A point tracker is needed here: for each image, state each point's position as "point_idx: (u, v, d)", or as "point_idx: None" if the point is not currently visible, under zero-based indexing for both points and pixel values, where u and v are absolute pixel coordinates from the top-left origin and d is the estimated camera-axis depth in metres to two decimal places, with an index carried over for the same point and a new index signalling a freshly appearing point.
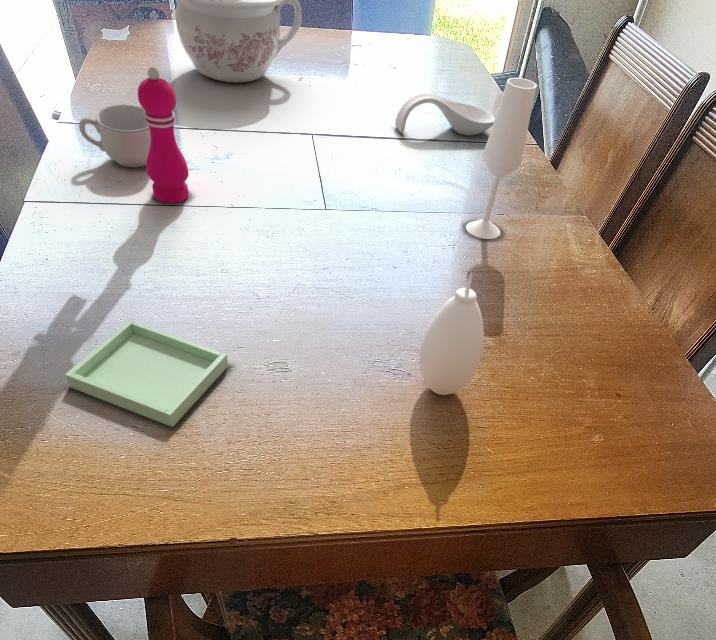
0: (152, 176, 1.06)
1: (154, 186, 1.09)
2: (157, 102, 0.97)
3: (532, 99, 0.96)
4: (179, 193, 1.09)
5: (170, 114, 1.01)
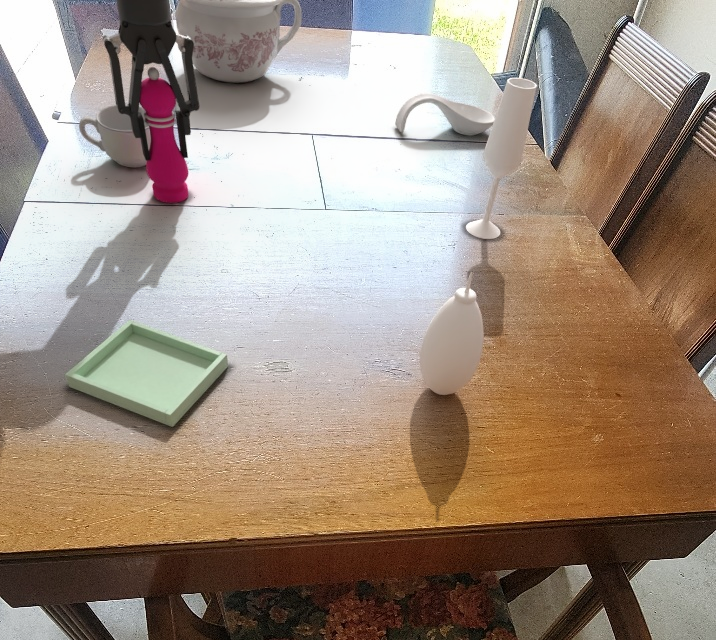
0: (152, 176, 1.06)
1: (154, 186, 1.09)
2: (157, 102, 0.97)
3: (532, 99, 0.96)
4: (179, 193, 1.09)
5: (170, 114, 1.01)
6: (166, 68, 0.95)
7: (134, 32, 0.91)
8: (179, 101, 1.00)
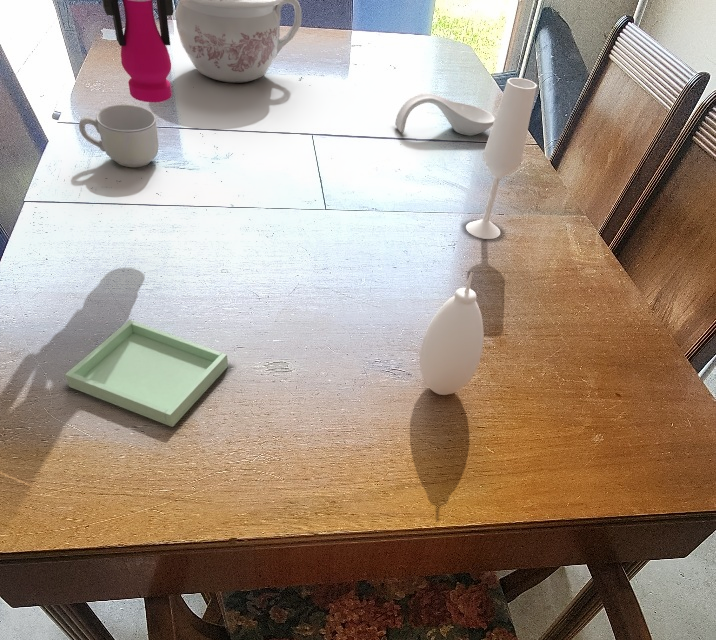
0: (128, 67, 0.89)
1: (131, 82, 0.92)
2: None
3: (532, 99, 0.96)
4: (160, 90, 0.92)
5: None
6: None
7: None
8: None
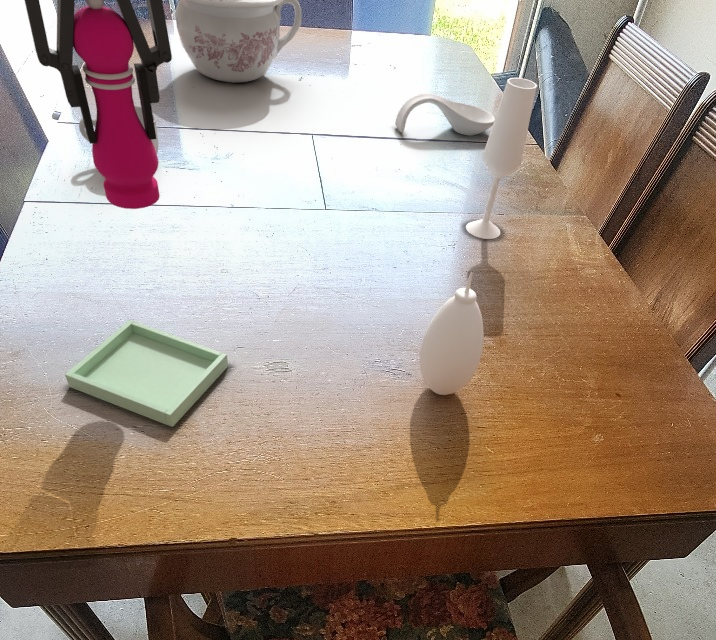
0: (102, 169, 0.69)
1: (106, 184, 0.72)
2: (102, 46, 0.60)
3: (532, 99, 0.96)
4: (145, 194, 0.72)
5: (125, 68, 0.63)
6: None
7: None
8: (139, 46, 0.62)
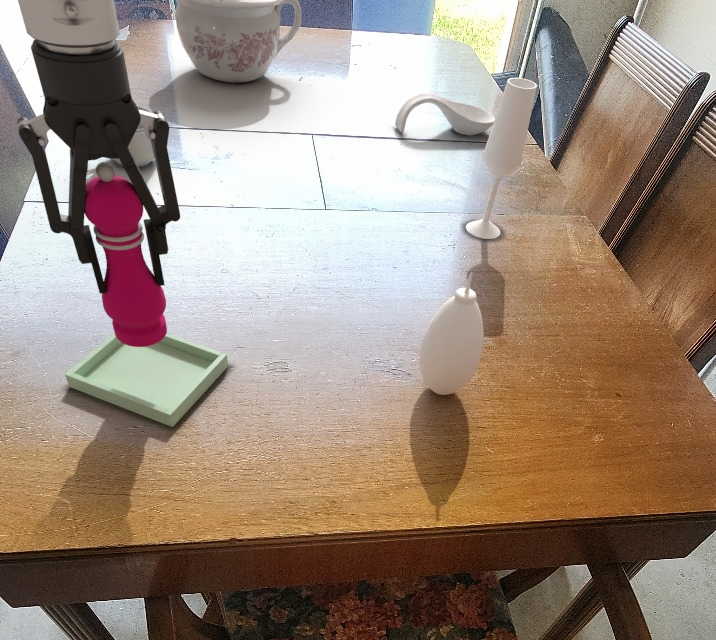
0: (111, 314, 0.70)
1: (115, 323, 0.73)
2: (112, 216, 0.61)
3: (532, 99, 0.96)
4: (152, 334, 0.73)
5: (135, 229, 0.64)
6: (125, 165, 0.59)
7: (69, 113, 0.55)
8: (148, 210, 0.64)
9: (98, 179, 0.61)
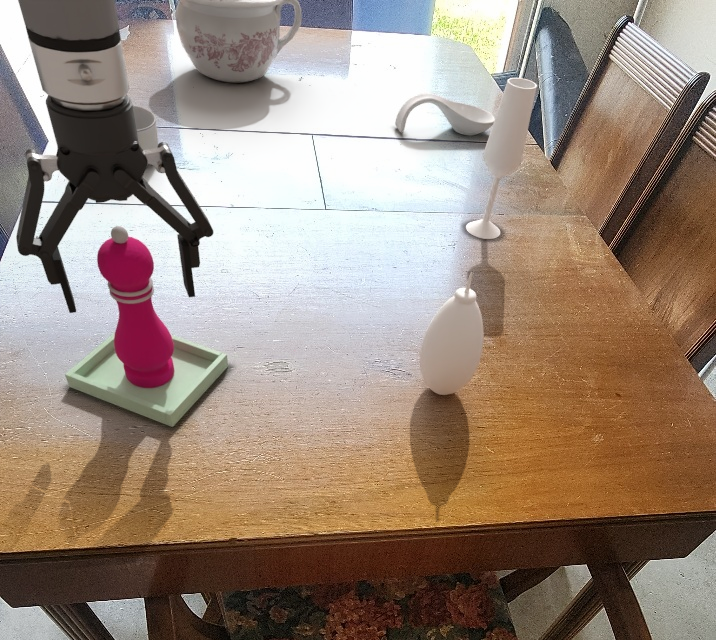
0: (123, 360, 0.75)
1: (126, 366, 0.78)
2: (125, 275, 0.66)
3: (532, 99, 0.96)
4: (161, 376, 0.78)
5: (146, 284, 0.70)
6: (144, 201, 0.62)
7: (83, 165, 0.58)
8: (179, 231, 0.67)
9: (113, 241, 0.66)
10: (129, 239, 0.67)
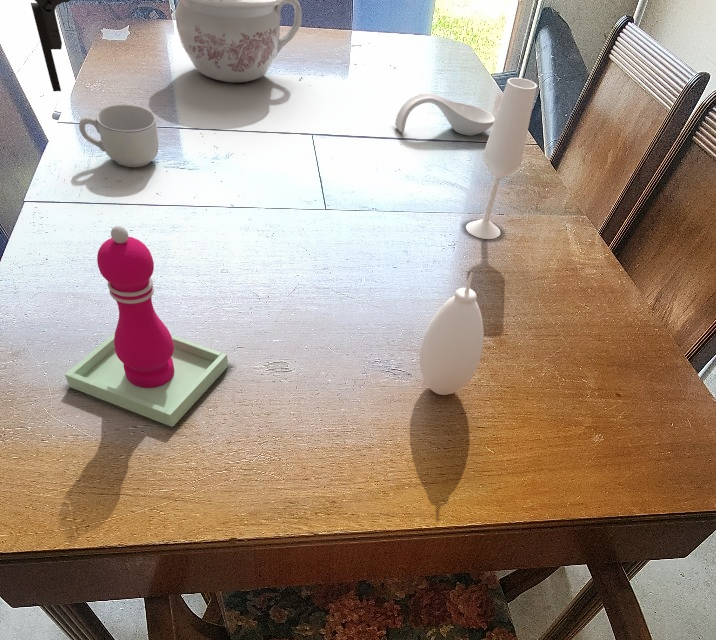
0: (123, 360, 0.75)
1: (126, 366, 0.78)
2: (125, 275, 0.66)
3: (532, 99, 0.96)
4: (161, 376, 0.78)
5: (146, 284, 0.70)
6: None
7: None
8: None
9: (113, 241, 0.66)
10: (129, 239, 0.67)
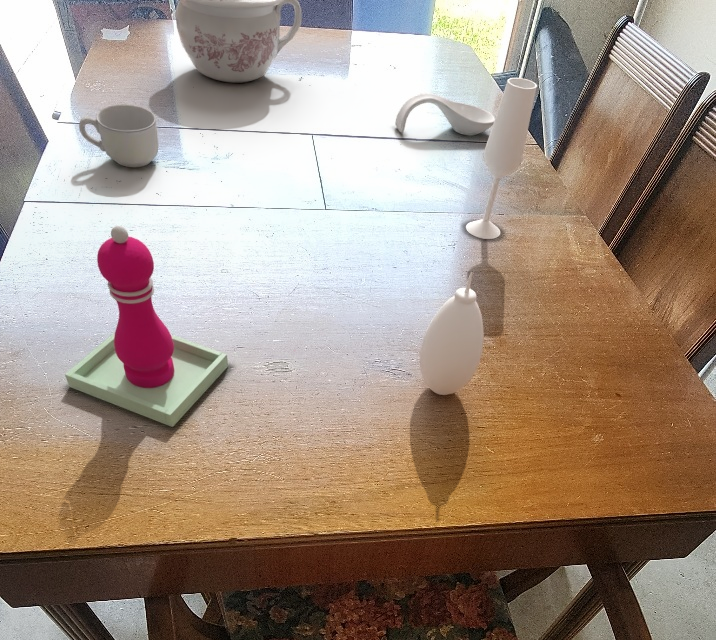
0: (123, 359, 0.75)
1: (126, 366, 0.78)
2: (125, 275, 0.66)
3: (532, 99, 0.96)
4: (161, 376, 0.78)
5: (146, 284, 0.70)
6: None
7: None
8: None
9: (113, 241, 0.66)
10: (129, 239, 0.67)
